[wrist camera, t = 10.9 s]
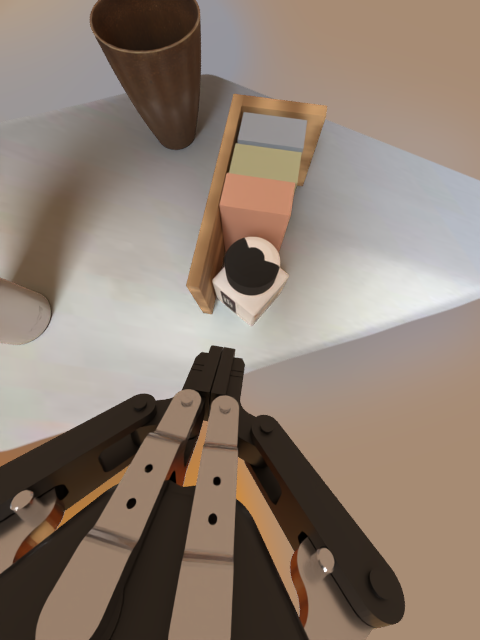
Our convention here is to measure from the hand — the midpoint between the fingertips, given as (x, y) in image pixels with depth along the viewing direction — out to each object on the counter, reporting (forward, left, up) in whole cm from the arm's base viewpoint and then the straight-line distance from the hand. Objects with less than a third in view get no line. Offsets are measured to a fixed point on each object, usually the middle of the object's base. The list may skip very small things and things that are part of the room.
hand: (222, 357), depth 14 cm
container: (0, +12, -22) cm, 25 cm away
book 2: (0, +26, -22) cm, 34 cm away
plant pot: (-20, +44, -22) cm, 53 cm away
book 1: (0, +32, -22) cm, 39 cm away
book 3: (0, +21, -22) cm, 31 cm away
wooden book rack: (0, +23, -22) cm, 31 cm away
